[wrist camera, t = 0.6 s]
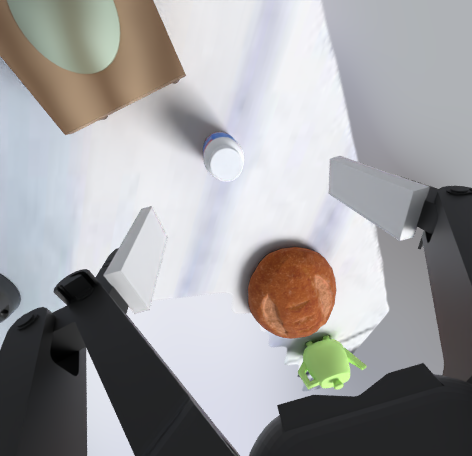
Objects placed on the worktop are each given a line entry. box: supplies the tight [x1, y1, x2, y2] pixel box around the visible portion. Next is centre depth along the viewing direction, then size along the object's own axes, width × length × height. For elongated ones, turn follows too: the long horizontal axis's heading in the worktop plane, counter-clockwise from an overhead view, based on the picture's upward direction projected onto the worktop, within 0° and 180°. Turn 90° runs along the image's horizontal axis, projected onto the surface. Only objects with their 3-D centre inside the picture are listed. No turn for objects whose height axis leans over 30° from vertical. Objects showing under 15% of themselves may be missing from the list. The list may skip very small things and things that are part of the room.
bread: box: [248, 247, 336, 338], centre depth 49 cm, size 23×32×9 cm
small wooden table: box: [0, 0, 186, 135], centre depth 20 cm, size 14×14×9 cm
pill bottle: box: [203, 132, 244, 181], centre depth 28 cm, size 6×5×10 cm
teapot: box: [298, 335, 366, 390], centre depth 64 cm, size 20×13×13 cm
